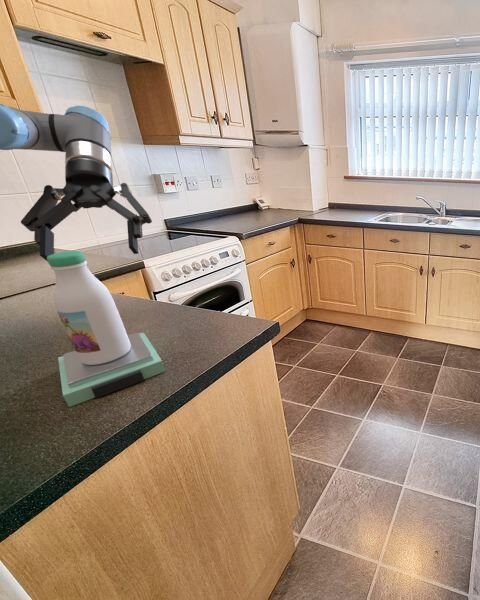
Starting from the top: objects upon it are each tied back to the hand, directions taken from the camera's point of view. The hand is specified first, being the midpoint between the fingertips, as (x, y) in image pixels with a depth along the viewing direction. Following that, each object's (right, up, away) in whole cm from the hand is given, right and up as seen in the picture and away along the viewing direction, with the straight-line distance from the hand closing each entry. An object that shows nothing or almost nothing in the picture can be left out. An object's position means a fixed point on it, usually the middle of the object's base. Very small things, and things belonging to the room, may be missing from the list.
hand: (92, 254), depth 66 cm
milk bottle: (+5, -20, -2) cm, 20 cm away
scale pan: (+5, -20, -1) cm, 21 cm away
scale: (+5, -23, -1) cm, 23 cm away
